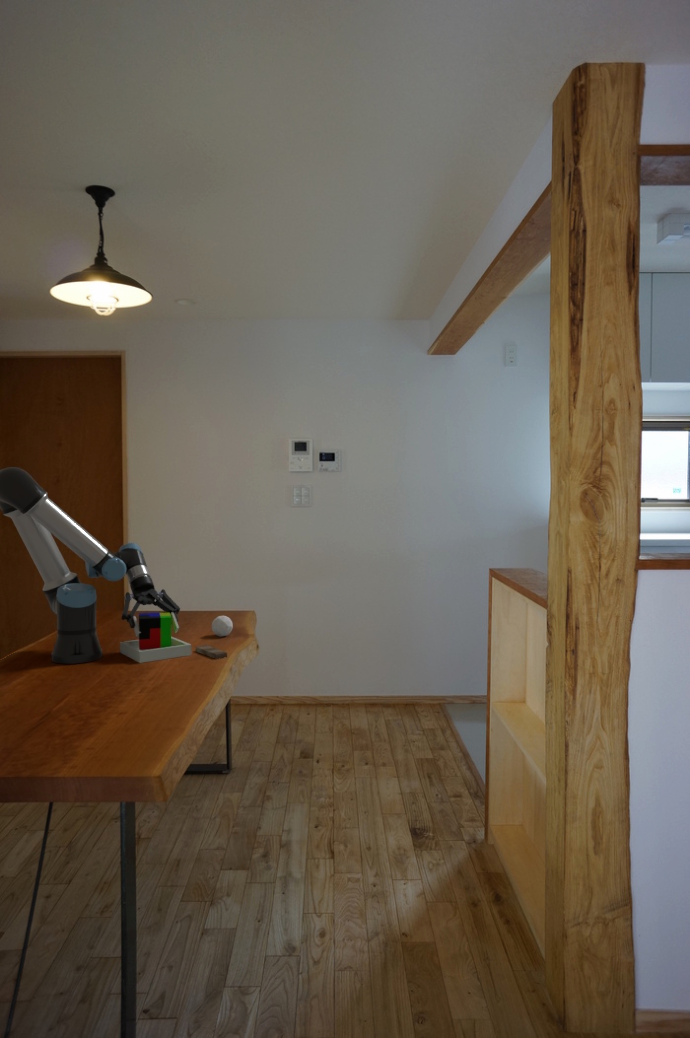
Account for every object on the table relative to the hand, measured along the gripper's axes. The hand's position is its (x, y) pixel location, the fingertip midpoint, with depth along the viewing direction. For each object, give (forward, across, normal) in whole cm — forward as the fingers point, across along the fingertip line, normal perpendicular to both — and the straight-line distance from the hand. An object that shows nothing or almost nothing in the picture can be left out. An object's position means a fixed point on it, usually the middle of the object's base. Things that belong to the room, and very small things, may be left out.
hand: (158, 632), depth 220 cm
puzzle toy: (+2, 0, -5) cm, 5 cm away
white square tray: (+4, 0, -7) cm, 8 cm away
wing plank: (+12, -15, +1) cm, 19 cm away
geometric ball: (-5, -31, -16) cm, 35 cm away
